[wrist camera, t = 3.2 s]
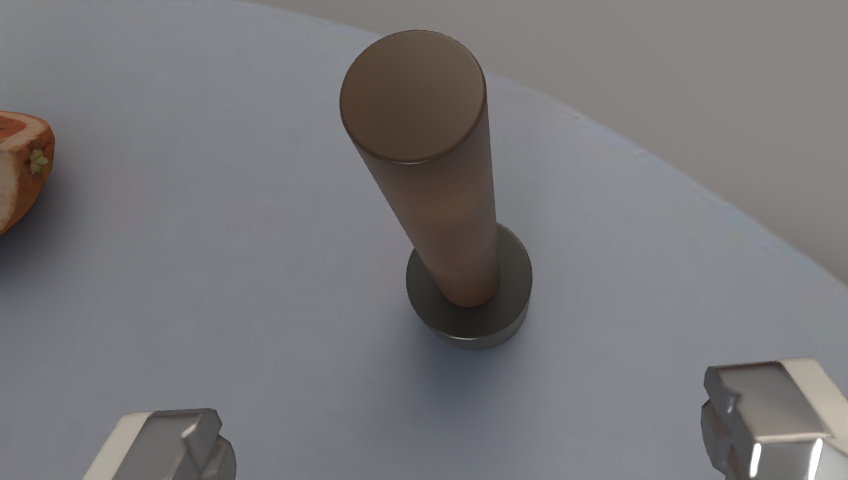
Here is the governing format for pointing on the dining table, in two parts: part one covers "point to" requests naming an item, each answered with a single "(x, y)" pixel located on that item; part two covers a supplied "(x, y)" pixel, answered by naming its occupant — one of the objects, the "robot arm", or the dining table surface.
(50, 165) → the fruit slice
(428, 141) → the brown and grey rod
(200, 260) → the dining table surface
